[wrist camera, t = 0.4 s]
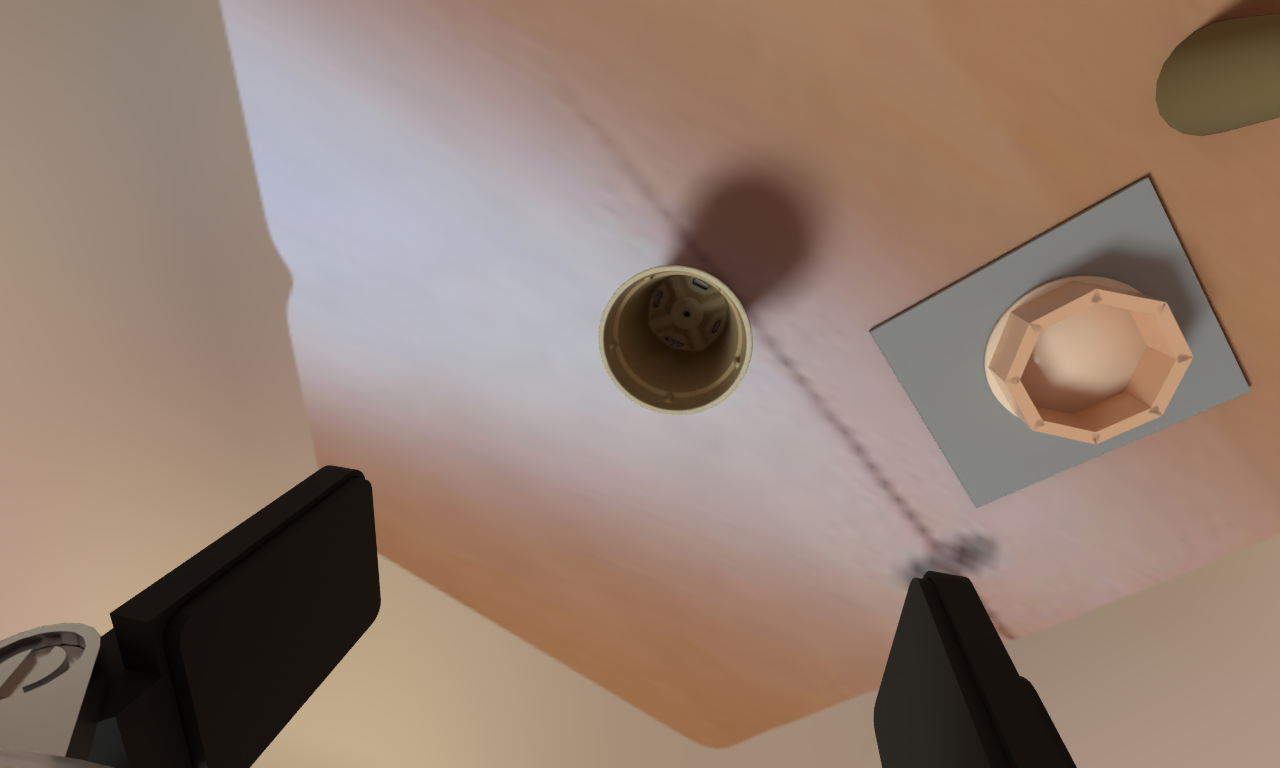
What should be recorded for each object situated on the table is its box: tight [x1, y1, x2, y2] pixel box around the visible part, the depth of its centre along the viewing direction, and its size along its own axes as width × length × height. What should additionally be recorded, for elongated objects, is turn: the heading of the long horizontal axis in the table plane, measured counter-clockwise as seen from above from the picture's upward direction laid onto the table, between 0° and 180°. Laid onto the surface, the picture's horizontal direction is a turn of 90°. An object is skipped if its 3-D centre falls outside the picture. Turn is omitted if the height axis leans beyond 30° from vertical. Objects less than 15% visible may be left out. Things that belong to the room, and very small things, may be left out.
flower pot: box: [599, 265, 753, 415], centre depth 41 cm, size 9×9×9 cm
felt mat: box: [869, 177, 1251, 508], centre depth 41 cm, size 16×18×1 cm
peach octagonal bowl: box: [983, 275, 1193, 445], centre depth 39 cm, size 10×10×4 cm
